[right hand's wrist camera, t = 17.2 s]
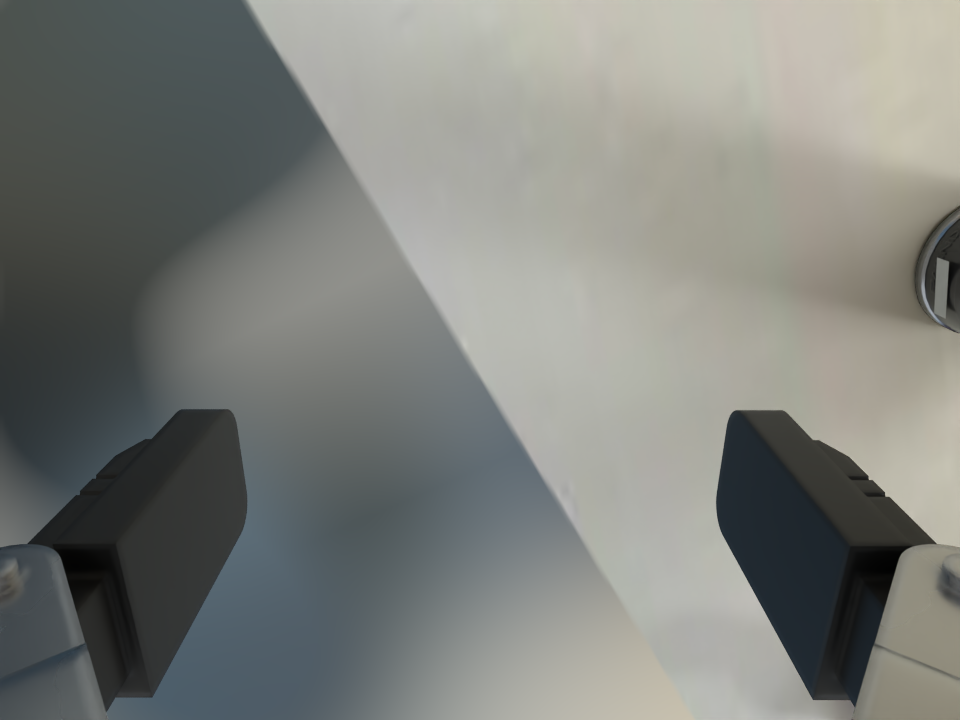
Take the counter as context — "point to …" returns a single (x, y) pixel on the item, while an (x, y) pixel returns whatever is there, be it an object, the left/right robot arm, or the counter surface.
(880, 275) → the counter surface
